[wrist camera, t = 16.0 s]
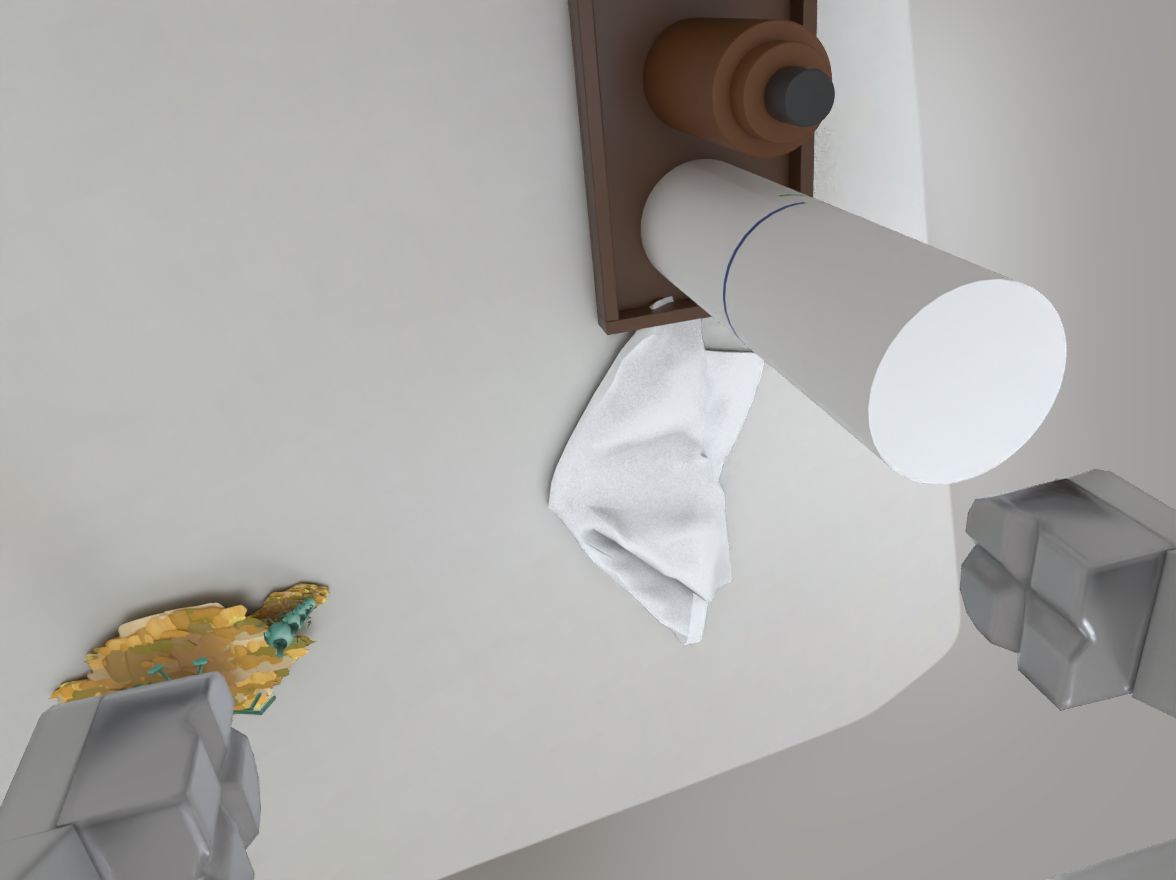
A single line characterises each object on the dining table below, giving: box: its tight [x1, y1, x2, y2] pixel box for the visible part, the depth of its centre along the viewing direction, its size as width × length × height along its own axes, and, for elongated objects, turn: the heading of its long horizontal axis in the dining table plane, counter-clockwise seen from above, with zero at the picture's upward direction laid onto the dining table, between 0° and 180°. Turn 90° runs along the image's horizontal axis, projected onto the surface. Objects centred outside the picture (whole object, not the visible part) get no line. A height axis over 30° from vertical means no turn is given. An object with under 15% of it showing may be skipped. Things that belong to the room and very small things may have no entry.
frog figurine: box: [49, 583, 329, 715], centre depth 50 cm, size 10×18×15 cm, turn 102°
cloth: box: [548, 296, 765, 646], centre depth 57 cm, size 26×14×2 cm, turn 175°
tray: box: [568, 0, 817, 335], centre depth 47 cm, size 25×13×2 cm, turn 5°
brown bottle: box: [644, 17, 835, 158], centre depth 41 cm, size 6×6×14 cm
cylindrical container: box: [641, 159, 1067, 484], centre depth 40 cm, size 7×7×25 cm
